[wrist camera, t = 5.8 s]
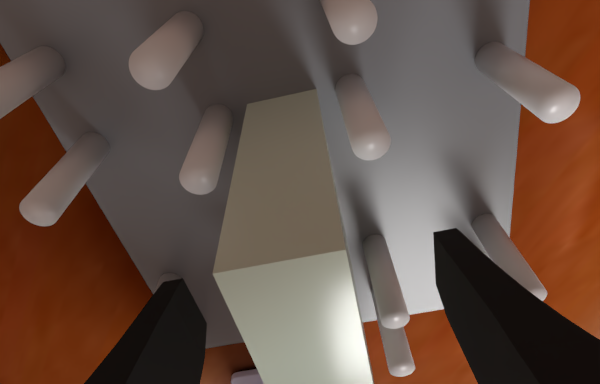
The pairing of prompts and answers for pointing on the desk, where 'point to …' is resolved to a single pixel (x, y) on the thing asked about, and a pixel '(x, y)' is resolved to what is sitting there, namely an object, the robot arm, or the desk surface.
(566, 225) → the desk surface
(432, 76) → the dish rack
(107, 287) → the desk surface
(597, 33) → the desk surface
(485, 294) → the robot arm
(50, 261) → the desk surface
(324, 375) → the pale rectangular block
